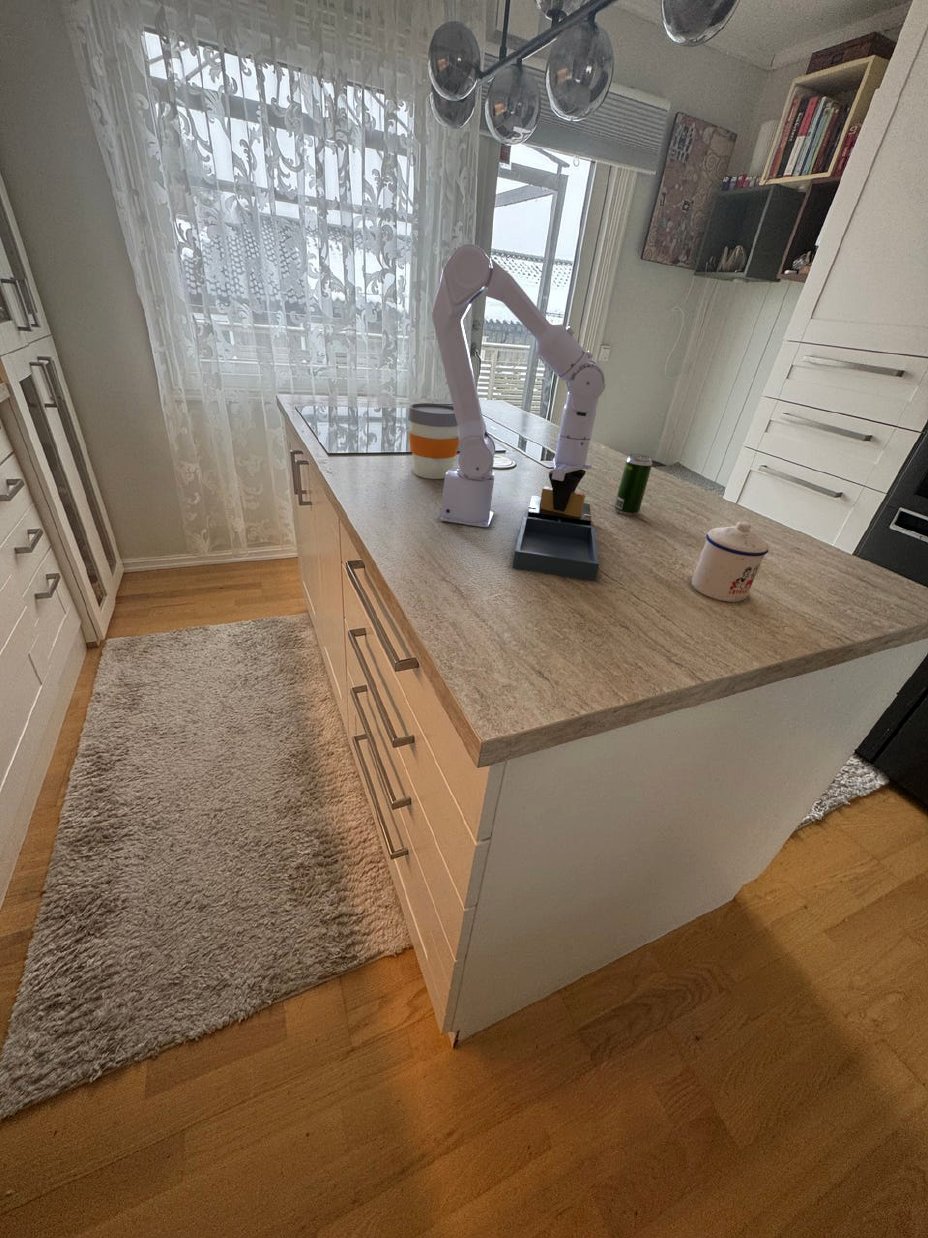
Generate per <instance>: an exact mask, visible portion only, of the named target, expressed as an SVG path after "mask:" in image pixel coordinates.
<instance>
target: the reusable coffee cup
mask: <svg viewBox="0 0 928 1238" xmlns="http://www.w3.org/2000/svg"><path fill="white" fill-rule="evenodd" d="M407 420H408V421H409V430H408V438H409V447H410V452H411V454H412V464H413V473H414V474H415V475H416V476H418V477H420V478H424V479H430V480H443V479H445V476H446V473H447V471H453V466H454V461H455V457H456V456H457V454H458V449H459V446H460V444H459V437H458V425H457V421H456V416H455V412H454V408H453V405H449V404H445V403H444V404H443V403H436V402H435V403H434V402H418V403H417V402H416V403H412V404H410V405H409V408H408V417H407Z"/></svg>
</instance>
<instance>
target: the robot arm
mask: <svg viewBox="0 0 928 1238" xmlns="http://www.w3.org/2000/svg"><path fill="white" fill-rule="evenodd" d="M440 276H441V277H440V281H439V285H438V288H437V291H436V296H435V300H434V303H433V305H432V306H433V307H432V312H431V319H432V323H433V327H434V332H435V334H436V335H435V336H436V339H437V344H438V349H439V353H440V357H441V361H442V365H443V370H444V374H445V378H446V382H447V386H448V391H449V395H450V398H451V403H452V406H453V408H454V412H455V416H456V421H457V425H458V437H459V449H460V450H459V455H458V467H457V468H456V470H452V471H447V473H446V476H445V478H444V481H443V486H442V487H443V488H442V500H441V501H442V503H441V515H440V516H441V517H440V521H442V522H448V523H453V524H461V525H468V526H473V527H480V528H485V529H487V528H489V527H490V525H491V522H492V519H493V517H494V511H491V508H492V500H493V491H494V482H495V475H496V473H495V471H494V470H493V468H494V460H495V459H494V457H495V455H496V444H495V442H494V440H493V438H492V437H491V436H490V435H489V432H488V430H487V426H486V422H485V420H484V417H483V412H482V407H481V403H480V397H479V394H478V389H477V384H476V379H475V374H474V369H473V365H472V361H471V356H470V351H469V346H468V341H467V337H466V332H465V326H464V323H463V320H464V318H465V316H466V315H467V313H468V311H469V310H470V308H471V306H472V304H473V302H474V301H475V300H476V299H477V298H478V297H479V296H480V295H482V293H483V292H484V291H485V292H484V296H485V297H487V298H490V299H493V300H496V301H499V302H501V303H503V305H505V306H506V308H507V309H508V310H509V311H510V312H511V313H512V314H513V316H515V317H516V318H517V320H518V321H519V322H520V323H521V324H522V325H523V326H524V327H525V328H526V330H528V332H529V333H530V334H531V335H532V336H533V337H534V338H535V341H536V342H535V343H536V344H535V353H536V354H537V356H539V357H540V359H541V360H542V361H543V362H544V363H545V364H546V365H547V366H548V367H549V369H550V370H551V371H552V372H553V373H554V374H555V376H556V377H557V378H558V379H559V380H560V381H565V384H566V387H567V390H568V391H567V393H566V400H565V404H564V406H563V410H562V414H561V421H560V426H559V431H558V437H557V442H556V449H555V454H554V457H553V460H552V465H553V469H552V470H550V471H548V479H549V482H550V486H551V487H552V492H553V509H554V510H558V511H562V512H564V510H565V509H566V507H567V504H568V501H569V498H570V495H571V493H572V492H575V493H576V489H577V488H578V485H579V484H580V482H581V480H582V479H583V478H584V476H585V475H586V470H591V469H592V466H593V464H592V463H590V462H587V457H588V453H589V448H590V444H591V440H592V435H593V430H594V425H595V420H596V416H597V406H598V404H599V398H600V397H601V396H602V394H603V393H604V391H605V389H606V383H605V382H606V379H605V374H604V371H603V370H602V369H601V368H600V366H598V365H597V362H596V361H594V360H591V359H592V358H593V357H594V355H593V353H592V352H590V351H589V350H588V351H586V350H585V349H584V348H583V347H582V346H581V345H580V343H579V342H578V340H576V338H575V337H574V336H573V335H575V331H574V329H572V327H571V326H567V327H566V326H565V325H564V324H563V323H550V322H549V321H548V320H547V318H546V316H544V314H543V313H542V312H541V310H540V309H539V308H538V307H537V306H536V304H535V303H534V302H533V301H532V299H531V298H530V297H529V296H528V294H527V293H526V292H525V290H524V288H522V287H521V285H519V283H518V282H517V281H516V279H515V278H514V277H513V276H512V275H511V274H510V273H509V271H507V270H506V269H504V267H503V266H502V265H500V264H499V263H497V262H496V261H495V260H494V259H492V258H489V256H488V255H487V253H486V251H484V249H483V248H481V246H479V245H476V244H474V243H463V244H461V245H459V246H458V247H456V249H455V250H454V251H453V252H452V253H451V255H450V256H449V258H448V260H447V261H446V263H445V264H444V265H443V266H442V270H441V275H440Z"/></svg>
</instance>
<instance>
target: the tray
mask: <svg viewBox="0 0 928 1238" xmlns="http://www.w3.org/2000/svg"><path fill="white" fill-rule="evenodd" d="M597 537H598V536H597V529H596V526H594V525H593V526H592V525H590V526H586V525H580V524H573V523H566V522H560V523H558V521H553V520H546V519H539V518H532V517H528V516H522V519H521V524H520V529H519V533H518V536H517V540H516V546H515V550H514V554H513V562H512V569H517V570H523V571H529V572H535V573H543V574H549V575H555V576H560V577H568V578H574V579H580V580H585V581H593V582H595V581H596V579H597V575H598V572H599V568H600V558H599V557H600V555H599V547H598V538H597Z"/></svg>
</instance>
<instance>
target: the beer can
mask: <svg viewBox="0 0 928 1238" xmlns="http://www.w3.org/2000/svg"><path fill="white" fill-rule="evenodd" d="M652 466H653V458H652V457H651V456H648V455H645V454H639V453H630V454H628V457H627V458H626V460H625V463H624V467H623V471H622V475H621V479H620V483H619V487H618V491H617V495H616V499H615V503H614V510H615V512H616V513H618V514H620V515H623V516H630V517H632V516H636V515H638V513H639V512H640V510H641V506H642V503H643V499H644V495H645V492H646V489H647V485H648V483H649V478H650V475H651V471H652Z"/></svg>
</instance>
